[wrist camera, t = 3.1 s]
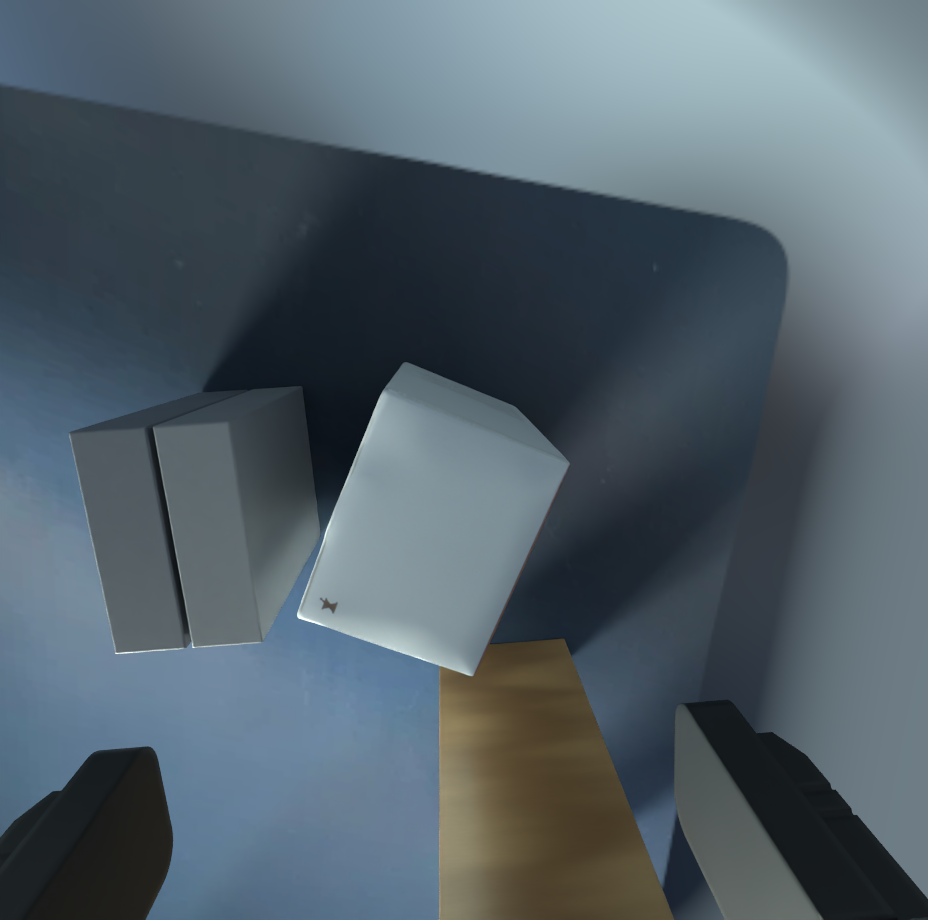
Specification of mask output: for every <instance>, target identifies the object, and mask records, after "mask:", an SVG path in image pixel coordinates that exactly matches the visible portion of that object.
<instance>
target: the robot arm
mask: <svg viewBox="0 0 928 920" xmlns="http://www.w3.org/2000/svg"><path fill="white" fill-rule="evenodd" d="M674 794H675V802H676V808H677V812H678V816H679V820H680V823H681V827H682V829H683V832H684V835H685V837H686V839H687V841H688V843H689V845H690V847H691V849H692V851H693V853H694V855H695V858H696V860H697V862H698V864H699V866H700V868H701V870H702V872H703V874H704V877H705V879H706V881H707V883H708V885H709V887H710V889H711V891H712V893H713V895H714V897H715V900H716V902H717V904H718V906H719V908H720V910H721V912H722V914H723V916H724V918H725V920H928V899H927V897H926V896H925V895H924V894H923V893H922V892H921V890H920V889H919V888H918V887H917V886H916V884H915V883H914V882H913V881H912V880H911V878H910V877H909V876H908V875H907V874H906V873H905V872H904V870H903V869H902V868H901V867H900V865H899V864H898V863H897V862H896V861H895V860H894V858H893V857H892V856H891V855H890V854H889V853H888V851H887V850H886V849H885V848H884V847H883V845H882V844H881V843H880V842H879V841H878V840H877V838H876V837H875V836H874V835H873V834H872V832H871V831H870V830H869V829H868V828H867V826H866V825H865V824H864V823H863V822H862V821H861V819H860V818H859V817H858V816H857V815H853V813H852V811H851V808H850V806H849V805H848V804H847V803H846V802H845V800H844V799H843V798H842V797H841V796H840V795H839V794H838V792H837V791H836V790H832V789H831V785H830V783H829V782H828V780H827V779H826V778H825V777H824V776H823V774H822V773H821V772H820V771H819V770H818V769H817V767H816V766H815V765H814V764H813V763H812V762H811V760H810V759H809V758H808V757H807V756H806V755H805V754H804V753H802V752H801V751H799V750H798V749H796V748H795V747H793V746H792V745H790V744H789V743H787V742H786V741H784V740H783V739H781V738H780V737H778V736H777V735H775V734H774V733H773V732H769V733H756V732H755V731H754V730H753V728H752V727H751V726H750V725H749V723H748V722H747V721H746V719H745V718H744V717H743V715H742V714H741V713H740V712H739V710H738V709H737V708H736V706H735V705H734V704H733V703H732V702H731V701H729V700H718V701H706V702H694V703H682V704H679V705H678V706H677V708H676V713H675V760H674ZM172 848H173V832H172V826H171V821H170V816H169V811H168V806H167V801H166V797H165V792H164V787H163V782H162V777H161V772H160V767H159V762H158V758H157V755H156V753H155V751H154V750H153V749H152V748H151V747H136V748H124V749H112V750H100V751H96V752H94V753H93V754H91V755H90V756H89V757H88V758H87V760H86V761H85V762H84V763H83V765H82V766H81V767H80V768H79V770H78V771H77V772H76V773H75V775H74V776H73V777H72V778H71V780H70V781H69V782H68V783H67V785H66V786H65V787H64V788H63V790H62V791H53V792H51V793H50V794H49V795H48V796H46V797H45V798H44V799H42V800H41V801H40V802H38V803H37V804H36V805H35V806H33V807H32V808H31V809H29V810H28V811H27V812H25V813H24V814H23V815H22V816H20V817H19V818H18V819H16V820H15V821H14V822H13V823H12V824H11V826H10V827H9V828H8V829H7V830H6V831H5V833H4V834H3V835H2V836H1V837H0V920H145V919H146V917H147V915H148V913H149V911H150V909H151V907H152V905H153V903H154V901H155V899H156V897H157V895H158V893H159V891H160V889H161V887H162V885H163V883H164V880H165V878H166V875H167V872H168V869H169V865H170V861H171V856H172Z"/></svg>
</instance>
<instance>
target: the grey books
mask: <svg viewBox="0 0 928 920" xmlns="http://www.w3.org/2000/svg"><path fill="white" fill-rule="evenodd" d="M69 436H70V441H71V445H72V450H73V455H74V459H75V464H76V469H77V474H78V478H79V483H80V488H81V492H82V497H83V502H84V507H85V511H86V516H87V521H88V525H89V530H90V535H91V540H92V544H93V549H94V554H95V558H96V563H97V568H98V572H99V577H100V582H101V587H102V591H103V596H104V601H105V605H106V610H107V615H108V620H109V624H110V629H111V634H112V638H113V643H114V648H115V652H116V654H122V653H135V652H147V651H160V650H173V649H185V648H187V646H188V645H189V644H190V642H191V641H192V646H193V648H198V647H211V646H224V645H237V644H250V643H261V642H263V641H264V639H265V637H266V635H267V633H268V631H269V630H270V628H271V626H272V624H273V622H274V620H275V619H276V617H277V615H278V613H279V611H280V610H281V608H282V606H283V604H284V602H285V600H286V599H287V597H288V595H289V593H290V591H291V590H292V588H293V586H294V584H295V582H296V580H297V579H298V577H299V575H300V573H301V571H302V570H303V568H304V566H305V564H306V562H307V560H308V559H309V557H310V555H311V553H312V551H313V550H314V548H315V546H316V544H317V542H318V540H319V539H320V537H321V534H320V526H319V518H318V510H317V502H316V494H315V486H314V477H313V469H312V461H311V453H310V445H309V437H308V429H307V421H306V413H305V405H304V396H303V388H302V386H293V387H278V388H264V389H253V390H250V391H248V390H234V391H220V392H205V393H197V394H194V395H190V396H187V397H184V398H180V399H177V400H174V401H171V402H167V403H164V404H161V405H157V406H154V407H151V408H147V409H144V410H141V411H138V412H134V413H131V414H128V415H124V416H121V417H118V418H114V419H111V420H108V421H105V422H101V423H98V424H95V425H91V426H88V427H85V428H81V429H78V430H75V431H72V432H70V433H69Z"/></svg>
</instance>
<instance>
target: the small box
mask: <svg viewBox="0 0 928 920" xmlns="http://www.w3.org/2000/svg"><path fill="white" fill-rule="evenodd" d="M569 467H570V463H569V462H568V460H567V459H566V458H565V457H564V456H563V455H562V454H561V453H560V452H559V451H558V450H557V449H556V448H555V447H554V446H553V445H552V444H551V443H550V441H548V439H547V438H546V437H545V436H544V435H543V434H542V433H541V432H540V431H539V430H538V429H537V428H536V427H535V426H534V425H533V424H532V423H531V422H530V421H529V420H528V419H527V418H526V417H525V416H524V415H523V414H522V413H521V412H520V411H519V410H518V409H517V408H516V407H515V406H513V405H511V404H508V403H506V402H503V401H501V400H498V399H496V398H493V397H491V396H488V395H486V394H484V393H481V392H479V391H476V390H474V389H471V388H469V387H466V386H464V385H461V384H459V383H457V382H454V381H452V380H449V379H447V378H444V377H442V376H440V375H437V374H435V373H432V372H430V371H427V370H425V369H423V368H420V367H418V366H415V365H413V364H410V363H407V362H404V363H403V364H402V365H401V367H400V368H399V370H398V371H397V372H396V373H395V375H394V376H393V378H392V379H391V380H390V382H389V383H388V384H387V385H386V387H385V388H384V390H383V392H382V393H381V395H380V398H379V400H378V402H377V405H376V407H375V410H374V412H373V415H372V417H371V420H370V422H369V425H368V427H367V430H366V432H365V435H364V437H363V440H362V442H361V445H360V447H359V450H358V452H357V455H356V457H355V460H354V462H353V465H352V467H351V470H350V472H349V475H348V477H347V480H346V482H345V485H344V487H343V489H342V492H341V494H340V497H339V499H338V502H337V504H336V507H335V509H334V512H333V514H332V517H331V520H330V522H329V525H328V527H327V530H326V533H325V537H324V541H323V544H322V546H321V549H320V552H319V555H318V558H317V561H316V563H315V566H314V569H313V571H312V574H311V577H310V580H309V582H308V585H307V588H306V590H305V593H304V596H303V599H302V602H301V605H300V607H299V610H298V614H297V616H298V618H300V619H303V620H307V621H310V622H313V623H316V624H319V625H323V626H326V627H328V628H331V629H334V630H337V631H340V632H342V633H345V634H348V635H351V636H354V637H357V638H360V639H363V640H366V641H369V642H372V643H374V644H377V645H380V646H383V647H386V648H389V649H392V650H395V651H398V652H401V653H404V654H407V655H410V656H413V657H416V658H419V659H422V660H425V661H428V662H431V663H434V664H437V665H440V666H443V667H446V668H449V669H452V670H455V671H458V672H461V673H464V674H466V675H469V676H474V675H475V674H476V672H477V670H478V668H479V666H480V664H481V662H482V659H483V657H484V655H485V653H486V651H487V648H488V646H489V644H490V642H491V640H492V637H493V635H494V633H495V631H496V628H497V626H498V624H499V622H500V619H501V617H502V615H503V613H504V611H505V608H506V606H507V604H508V602H509V600H510V598H511V595H512V593H513V591H514V589H515V586H516V584H517V582H518V580H519V578H520V575H521V573H522V571H523V569H524V567H525V564H526V562H527V560H528V558H529V556H530V554H531V551H532V549H533V547H534V545H535V543H536V540H537V538H538V535H539V533H540V531H541V529H542V527H543V525H544V522H545V520H546V518H547V516H548V513H549V511H550V509H551V507H552V504H553V502H554V500H555V498H556V495H557V493H558V491H559V489H560V487H561V484H562V482H563V480H564V478H565V475H566V473H567V471H568V469H569Z"/></svg>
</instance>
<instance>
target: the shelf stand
mask: <svg viewBox="0 0 928 920" xmlns="http://www.w3.org/2000/svg"><path fill="white" fill-rule="evenodd" d="M439 920H674V918H673V916H672V913H671V910H670V908H669V906H668V903H667V900H666V898H665V895H664V893H663V890H662V887H661V885H660V882H659V880H658V877H657V875H656V872H655V870H654V867H653V864H652V862H651V859H650V857H649V854H648V852H647V849H646V847H645V844H644V841H643V839H642V836H641V834H640V831H639V829H638V826H637V824H636V821H635V818H634V816H633V813H632V811H631V808H630V806H629V803H628V800H627V798H626V795H625V793H624V790H623V788H622V785H621V783H620V780H619V777H618V775H617V772H616V770H615V767H614V765H613V762H612V760H611V757H610V754H609V752H608V749H607V747H606V744H605V742H604V739H603V737H602V734H601V731H600V729H599V726H598V724H597V721H596V719H595V716H594V714H593V711H592V708H591V706H590V703H589V701H588V698H587V696H586V693H585V691H584V688H583V685H582V683H581V680H580V678H579V675H578V673H577V670H576V668H575V665H574V662H573V660H572V657H571V655H570V652H569V650H568V647H567V644H566V642H565V639H552V640H539V641H527V642H514V643H501V644H489V646H488V648H487V651H486V653H485V655H484V657H483V659H482V662H481V664H480V666H479V668H478V670H477V672H476V674H475V675H474V676H469V675H466V674H464V673H461V672H458V671H455V670H452V669H449V668H446V667H443V666H440V665H439Z"/></svg>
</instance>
